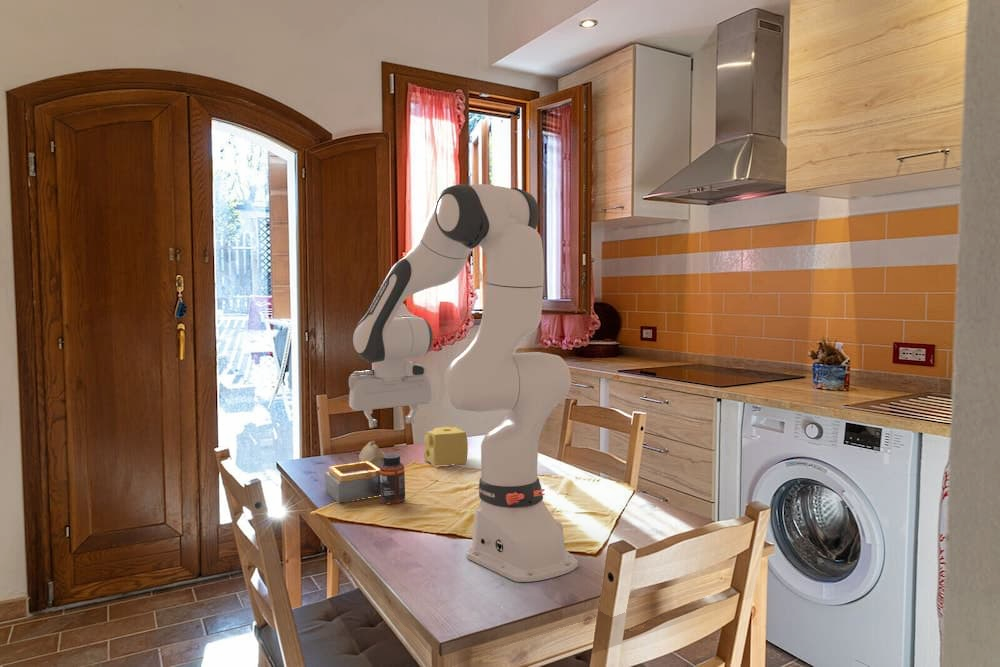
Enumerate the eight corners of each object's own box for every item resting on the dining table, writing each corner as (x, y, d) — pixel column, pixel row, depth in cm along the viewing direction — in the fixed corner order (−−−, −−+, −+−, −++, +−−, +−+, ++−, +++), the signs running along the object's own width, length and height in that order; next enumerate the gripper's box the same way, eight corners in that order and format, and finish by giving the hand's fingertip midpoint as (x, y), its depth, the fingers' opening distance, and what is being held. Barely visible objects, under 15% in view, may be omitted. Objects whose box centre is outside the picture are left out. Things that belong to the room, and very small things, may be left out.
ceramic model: (399, 480, 179) (398, 444, 179) (358, 485, 175) (357, 448, 174) (386, 467, 192) (385, 434, 192) (348, 472, 188) (347, 437, 187)
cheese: (423, 460, 200) (422, 428, 199) (456, 456, 204) (455, 425, 204) (434, 468, 190) (434, 434, 190) (468, 464, 195) (468, 431, 194)
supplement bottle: (406, 497, 163) (405, 452, 163) (403, 504, 157) (403, 458, 157) (382, 497, 163) (381, 453, 163) (379, 505, 157) (377, 459, 157)
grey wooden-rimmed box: (386, 495, 165) (385, 470, 164) (338, 503, 159) (338, 477, 158) (370, 484, 175) (369, 460, 175) (325, 491, 169) (325, 466, 169)
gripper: (352, 373, 150) (353, 432, 151) (433, 367, 161) (434, 422, 162) (344, 370, 156) (345, 427, 157) (423, 365, 166) (424, 418, 167)
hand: (391, 425), depth 159 cm, fingers open, 8 cm apart
